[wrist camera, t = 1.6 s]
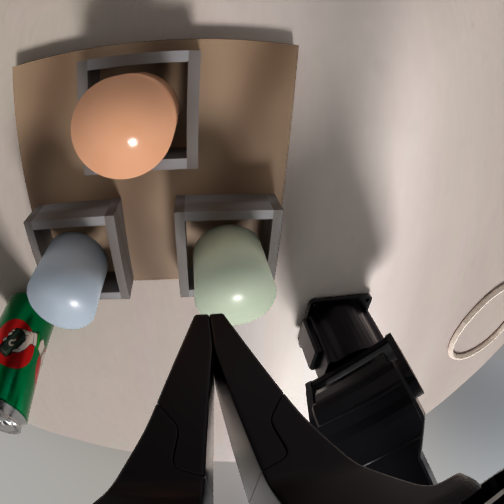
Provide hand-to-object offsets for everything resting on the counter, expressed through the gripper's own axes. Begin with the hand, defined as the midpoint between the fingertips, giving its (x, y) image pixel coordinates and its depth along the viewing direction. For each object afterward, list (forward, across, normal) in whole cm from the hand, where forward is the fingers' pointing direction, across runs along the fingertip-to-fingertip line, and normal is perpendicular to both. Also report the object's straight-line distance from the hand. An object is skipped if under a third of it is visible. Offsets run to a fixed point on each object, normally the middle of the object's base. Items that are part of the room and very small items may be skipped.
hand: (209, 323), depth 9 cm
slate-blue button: (+10, +8, +5) cm, 14 cm away
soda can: (+14, +16, +12) cm, 24 cm away
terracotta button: (+10, +3, -4) cm, 11 cm away
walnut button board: (+13, +3, 0) cm, 14 cm away
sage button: (+10, -2, +5) cm, 11 cm away
